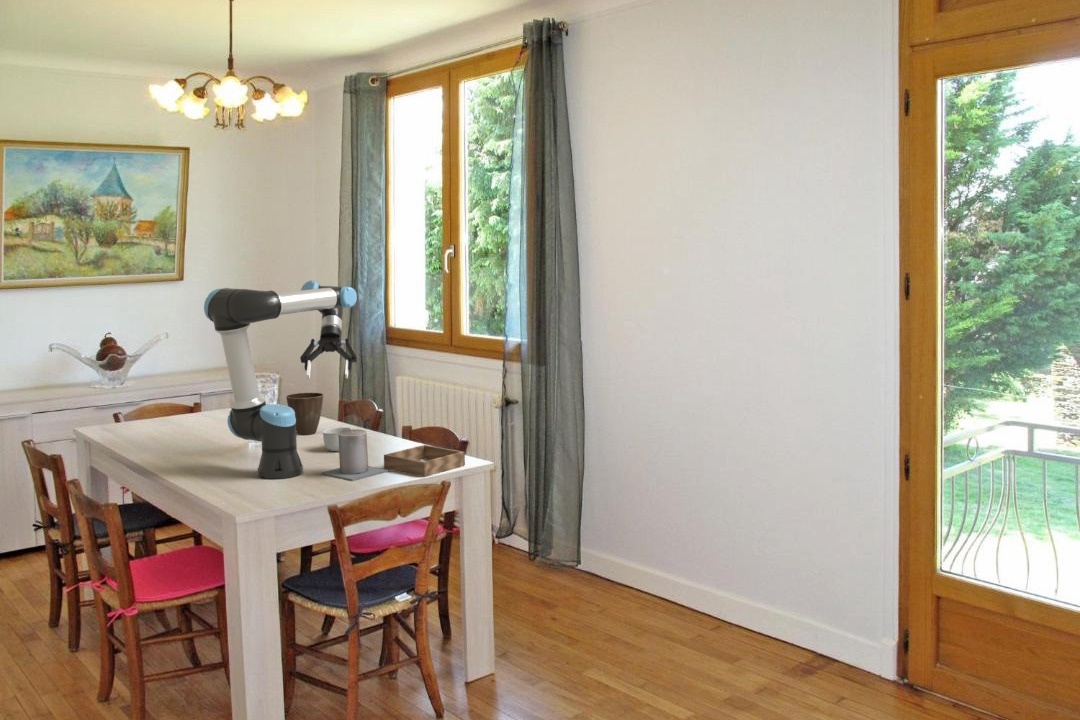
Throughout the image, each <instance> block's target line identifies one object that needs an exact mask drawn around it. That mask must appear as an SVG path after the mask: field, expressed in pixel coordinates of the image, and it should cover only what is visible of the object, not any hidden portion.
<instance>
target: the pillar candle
mask: <svg viewBox="0 0 1080 720" xmlns="http://www.w3.org/2000/svg"><path fill="white" fill-rule="evenodd" d="M367 435H368V434H367V430H364V429H356V428H355V429H354V428H351V430H344V431H341V432H339V433H338V439H339V451H338V455H339V457H338V458H339V468H340V472H341V473H343V474H358V473H364V472H367V471H368V466H369V460H368V459H369V458H368V457H369V454H368V437H367Z"/></svg>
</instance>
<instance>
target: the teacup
mask: <svg viewBox="0 0 1080 720" xmlns="http://www.w3.org/2000/svg"><path fill="white" fill-rule="evenodd" d="M344 430H352V428H351V427H348V426H347V427H344V426H339V427H332V428H327V429H325V430H323V431H322V435H323V436H322V437H323V444H324V447H325V448H326V449H327V450H328V451H330V452H333V451H338V452H339V439H338V433H339V432H341V431H344Z"/></svg>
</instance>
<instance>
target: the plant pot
mask: <svg viewBox="0 0 1080 720" xmlns="http://www.w3.org/2000/svg"><path fill="white" fill-rule="evenodd" d="M285 398H286V402H287V406H288V407H291V408H292V409H293V410H294V412H295V418H296V434H297V435H299V434H300V435H299V436H308V434H310V435H313V434H316V433H317V431H318V427H319V424H320V419H321V415H322V410H323V401H324V394H323V393H321V392H298V393H291V394H289V395H288V394H287V395H286V397H285Z"/></svg>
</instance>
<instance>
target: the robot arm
mask: <svg viewBox="0 0 1080 720" xmlns="http://www.w3.org/2000/svg"><path fill="white" fill-rule="evenodd" d="M357 295H358V294H357V291H356V290H355V289H354V288H353V287H351V286H347V285H346V286H337V285H336V286H333V285H320V284H319V282H317V281H315V280H308V281H306V282H304V284H303V285H302V286H301V289H300V290H292V291H283V292H277V291H274V290H256V289H249V288H247V289H246V288H229V287H224V288H217V289H213V290H212V291H210V292H209V294H208V295H207V297H206V298H205V300H204V304H203V311H204V315H205V316H206V318H207V319H208V320H209V321H210V322H212V323H213V326H214V331H215V332H216V333H218V334H219V335H220V337H221V341H222V347H223V352H224V357H225V361H226V366H227V370H228V371H227V372H228V376H229V382H230V386H231V390H232V395H233V402H232V403H231V405H230V408H231V410H230V411H229V413H228V414H229V415H227V426H228V428H229V431H230V432H231V433H232V435H234V436H235V437H236V438H239V439H242V440H246V441H247V440H248V441H255V442H260V443H261V456H260V459H259V463H258V467H257V476H258V477H259V476H260V477H259V478H261V477H264V478H263V479H268V478H280V479H287V477H289V478H294V477H297V475H298V476H301V473H302V474H303V473H304V465H303V464H302V460H301V458H300V456H299V452H298V448H297V445H298V444H297V431H296V418H295V412H294V410H293V409H292V408H291V407H288V405H284V404H283V405H282V404H267V403H266V399H265V397H263V396H261V395H260V392H259V387H258V380H257V376H256V371H255V367H254V362H253V357H252V351H251V345H250V341H249V337H248V332H247V330H248V329H249V327H250V326H251V324H253V323H258V322H262V321H268V320H274V319H277V318H279V317H280V316H282V315H283V316H284V315H289V314H291V315H292V314H296V313H305V312H306V313H307V312H312V311H318V312H319V313H320V314H321V315H322V316H321V323H320V324H321V325H320V326H321V327H320V334H319V335H320V337H319V340H315V339H314V338H312V339H311V340H310V343H309V345H308V346H307V347H306V349H305V350H304V352H303V353H302V355H300V358H299V359H300V360H299V361H300V363H301V364H303V363H304V371H306V377H307V380H310V379H311V368H312V362H313V361H314V360H315V359H316V358H317V357H319V355H321V354H323V353H324V352H325V353H329V352H331V353H334V352H337V354H339V356H342V358H343V359H344V360H345V367H344V377H345V379H347V380H348V379H349V378H348V377H349V371H351V370H352V364H353V363H357V362H358V358H357V355H356V353H355V352H354V350H353V348H352V346H351V344H350V339H349V338H345V339H344V340H342V330H343V329H342V328H343V327H342V326H343V316H344V315H343V314H344V309H346V308H352V307H353V306H355V304H356V302H357V300H358V299H357V298H358V297H357ZM341 346H344V347H346V350H347V352H346V351H345V350H344V349H343V348H342V347H341ZM315 348H316V349H315ZM348 353H349V354H348ZM293 476H294V477H293Z"/></svg>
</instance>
